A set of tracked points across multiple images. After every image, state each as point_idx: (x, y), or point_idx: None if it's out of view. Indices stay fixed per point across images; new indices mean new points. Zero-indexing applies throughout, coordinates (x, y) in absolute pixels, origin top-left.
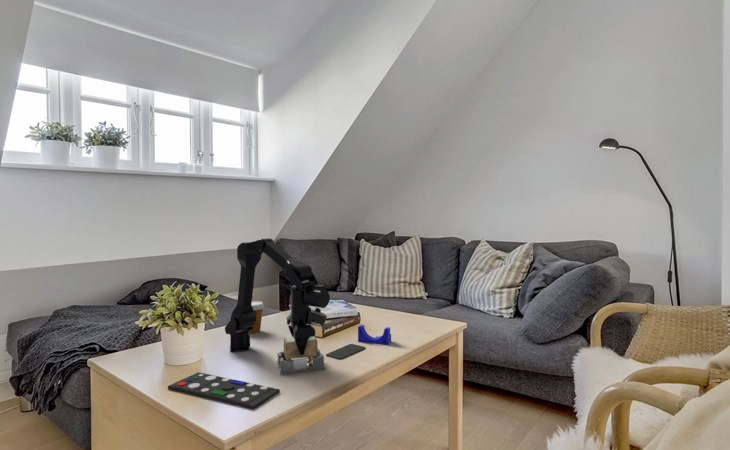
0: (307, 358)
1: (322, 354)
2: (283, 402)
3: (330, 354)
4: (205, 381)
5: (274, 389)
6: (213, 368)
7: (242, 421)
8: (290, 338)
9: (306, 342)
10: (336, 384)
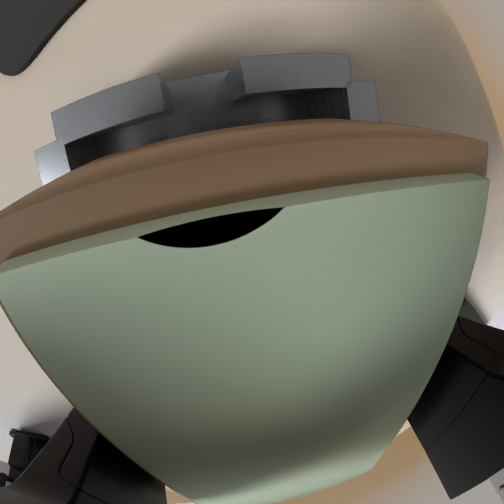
0: None
1: (288, 54)
2: (498, 271)
3: (18, 41)
4: None
5: (460, 314)
6: None
7: (498, 326)
8: (265, 496)
9: (491, 331)
10: (480, 82)
